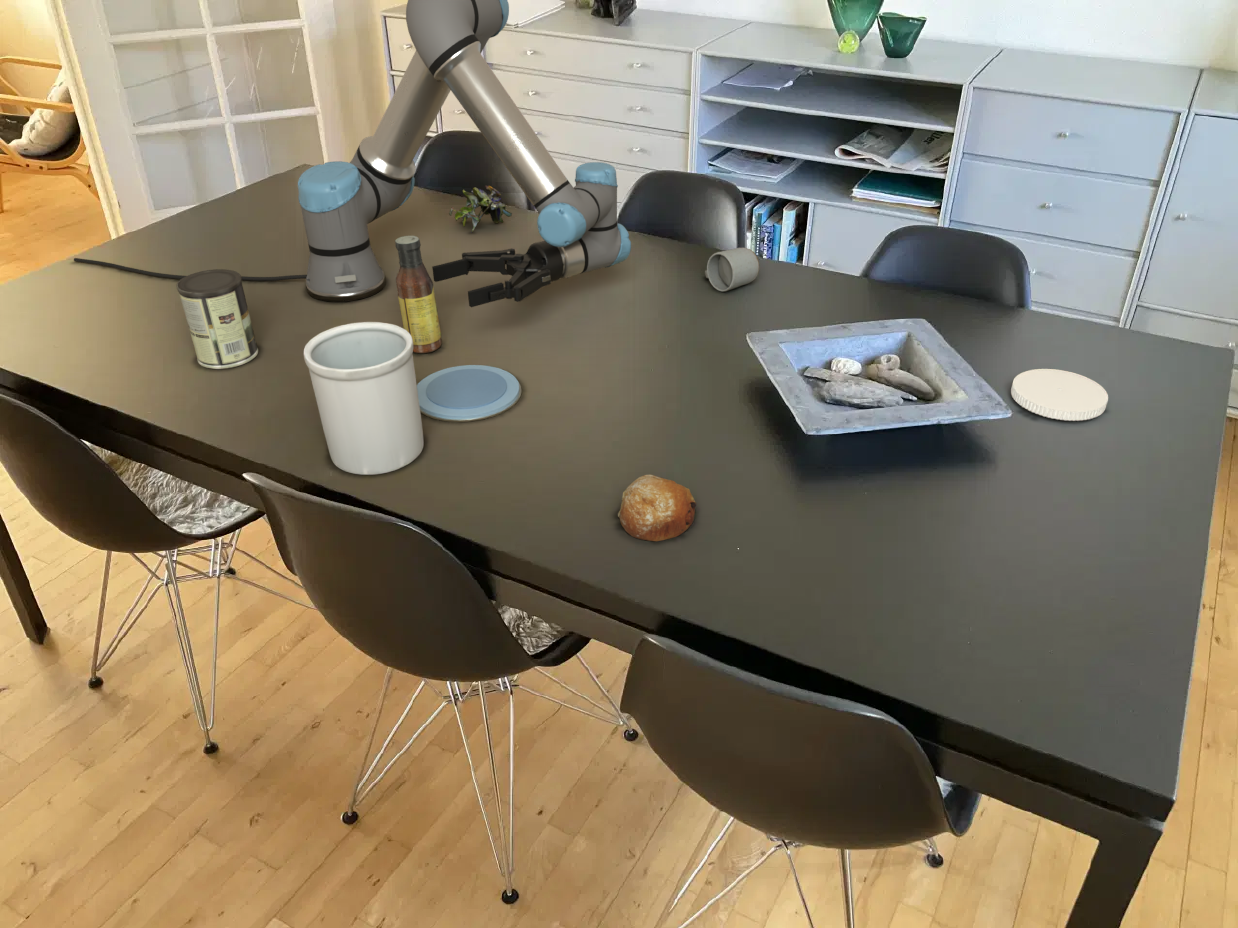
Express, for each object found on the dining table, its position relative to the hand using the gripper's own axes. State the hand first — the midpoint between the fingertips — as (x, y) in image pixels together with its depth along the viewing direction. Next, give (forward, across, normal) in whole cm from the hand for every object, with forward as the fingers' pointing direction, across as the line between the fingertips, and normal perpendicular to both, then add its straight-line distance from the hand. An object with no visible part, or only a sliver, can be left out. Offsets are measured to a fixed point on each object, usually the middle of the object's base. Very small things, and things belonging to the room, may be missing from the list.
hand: (450, 286), depth 173 cm
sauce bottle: (+6, 0, -10) cm, 12 cm away
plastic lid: (-66, -77, -10) cm, 102 cm away
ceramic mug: (-55, -10, -10) cm, 57 cm away
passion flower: (-31, +48, -10) cm, 58 cm away
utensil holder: (+27, -27, -10) cm, 40 cm away
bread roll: (+4, -65, -10) cm, 66 cm away
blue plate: (+8, -20, -10) cm, 24 cm away
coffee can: (+36, +17, -10) cm, 41 cm away
